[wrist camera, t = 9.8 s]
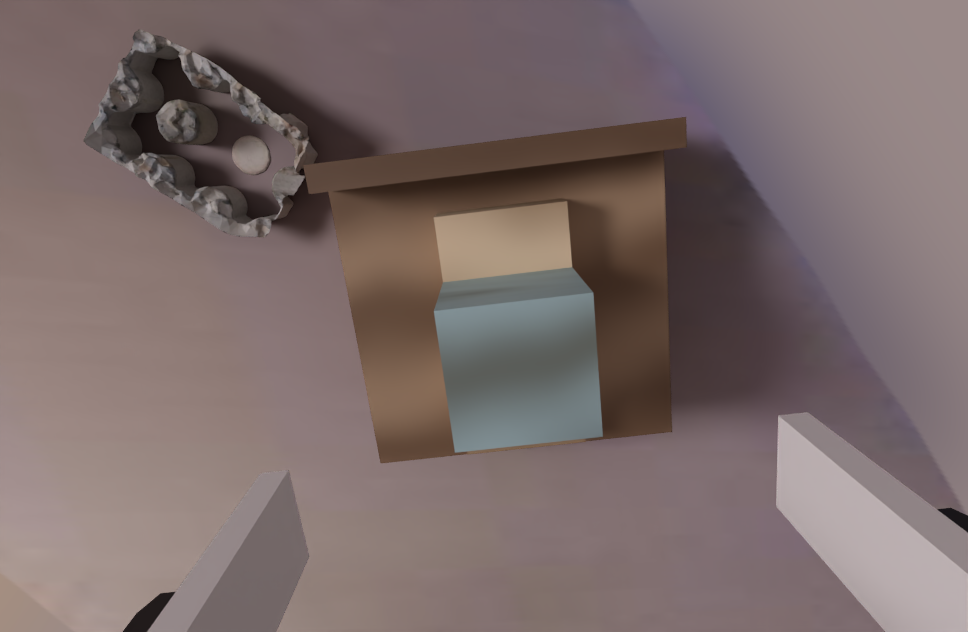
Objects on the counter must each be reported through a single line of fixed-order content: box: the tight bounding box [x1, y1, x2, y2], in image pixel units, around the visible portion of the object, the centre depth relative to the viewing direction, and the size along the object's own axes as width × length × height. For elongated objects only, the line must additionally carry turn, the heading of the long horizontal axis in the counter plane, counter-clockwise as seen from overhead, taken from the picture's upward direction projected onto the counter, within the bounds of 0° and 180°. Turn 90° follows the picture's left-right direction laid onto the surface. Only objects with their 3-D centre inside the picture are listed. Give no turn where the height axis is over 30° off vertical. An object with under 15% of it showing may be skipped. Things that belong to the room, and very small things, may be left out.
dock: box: [303, 117, 687, 463], centre depth 30 cm, size 16×16×10 cm
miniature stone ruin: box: [83, 30, 318, 238], centre depth 31 cm, size 11×8×4 cm
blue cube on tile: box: [434, 198, 603, 454], centre depth 25 cm, size 12×6×7 cm, turn 7°
